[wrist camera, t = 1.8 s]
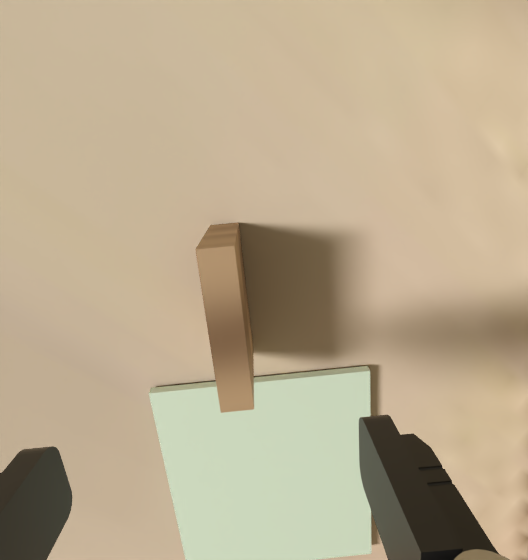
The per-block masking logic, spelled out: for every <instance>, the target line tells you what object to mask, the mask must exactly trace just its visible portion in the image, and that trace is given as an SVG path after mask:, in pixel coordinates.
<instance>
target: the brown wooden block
mask: <svg viewBox="0 0 528 560" xmlns="http://www.w3.org/2000/svg"><path fill="white" fill-rule="evenodd" d="M196 256H197V262H198V269H199V275H200V282H201V288H202V295H203V301H204V308H205V314H206V321H207V327H208V334H209V340H210V346H211V353H212V359H213V366H214V372H215V379H216V385H217V392H218V398H219V405H220V411H221V413H224V412H233V411H243V410H253V409H254V369H253V343H252V334H251V326H250V317H249V308H248V300H247V291H246V282H245V273H244V265H243V256H242V247H241V239H240V230H239V223H229V224H219V225H210V227H209V228H208V230H207V232H206V233H205V235H204V237H203V238H202V240H201V242H200V243H199V245H198V246H197V248H196Z"/></svg>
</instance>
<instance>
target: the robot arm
mask: <svg viewBox="0 0 528 560" xmlns="http://www.w3.org/2000/svg"><path fill="white" fill-rule="evenodd" d="M359 465H360V474H361V479H362V484H363V488H364V491H365V494H366V497H367V500H368V503H369V505H370V508H371V511H372V514H373V517H374V520H375V523H376V526H377V529H378V532H379V534H380V537H381V540H382V543H383V546H384V549H385V552H386V555H387V558H388V560H509V559H508V558H506V557H504V556H502V555H500V554H499V553H498V552H497V551H496V549H495V548H494V547H493V545H492V544H491V542H490V540H489V539H488V537H487V536H486V534H485V533H484V531H483V529H482V528H481V526H480V525H479V523H478V521H477V520H476V518H475V517H474V515H473V514H472V512H471V510H470V509H469V507H468V506H467V504H466V503H465V501H464V499H463V498H462V496H461V495H460V493H459V491H458V490H457V488H456V487H455V485H454V484H452V480H451V479H450V477H449V476H448V474H447V472H446V471H445V469H443V468H442V465H441V463H440V461H439V460H438V458H437V457H436V455H435V454H434V452H433V450H432V449H431V447H429V446H428V445H427V444H426V443H424V442H423V441H422V440H421V439H419V438H418V437H417V436H416V435H414V434H404V435H400V433H399V432H398V430H397V428H396V426H395V424H394V423H393V421H392V419H391V417H390V416H389V415H380V416H370V417H360V418H359ZM71 506H72V491H71V488H70V485H69V481H68V478H67V475H66V472H65V469H64V465H63V462H62V459H61V456H60V453H59V451H58V449H57V448H56V447H43V448H33V449H24V450H22V451H20V452H19V453H18V454H17V455H16V456H15V458H14V459H13V460H12V461H11V463H10V464H9V465H8V466H7V468H6V469H5V470H4V471H3V472H2V473H0V560H46V559H47V558H48V556H49V554H50V552H51V550H52V548H53V546H54V544H55V542H56V540H57V538H58V536H59V534H60V533H61V531H62V529H63V527H64V525H65V523H66V521H67V519H68V517H69V514H70V511H71Z"/></svg>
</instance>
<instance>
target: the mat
mask: <svg viewBox="0 0 528 560" xmlns="http://www.w3.org/2000/svg"><path fill="white" fill-rule="evenodd" d="M149 397H150V401H151V406H152V410H153V415H154V419H155V424H156V428H157V433H158V437H159V442H160V446H161V451H162V455H163V460H164V464H165V469H166V473H167V478H168V482H169V487H170V491H171V496H172V500H173V505H174V509H175V514H176V518H177V523H178V527H179V532H180V536H181V541H182V545H183V550H184V554H185V559H186V560H316V559H325V558H335V557H344V556H354V555H364V554H371V508H370V505H369V503H368V500H367V497H366V494H365V491H364V488H363V484H362V479H361V474H360V465H359V418H360V417H370V416H371V414H370V370H369V368H368V366H361V367H351V368H341V369H332V370H322V371H312V372H302V373H292V374H282V375H273V376H263V377H254V409H253V410H243V411H233V412H224V413H221V411H220V405H219V398H218V392H217V385H216V381H214V382H204V383H194V384H184V385H174V386H164V387H155V388H151V390H150V392H149Z"/></svg>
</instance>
